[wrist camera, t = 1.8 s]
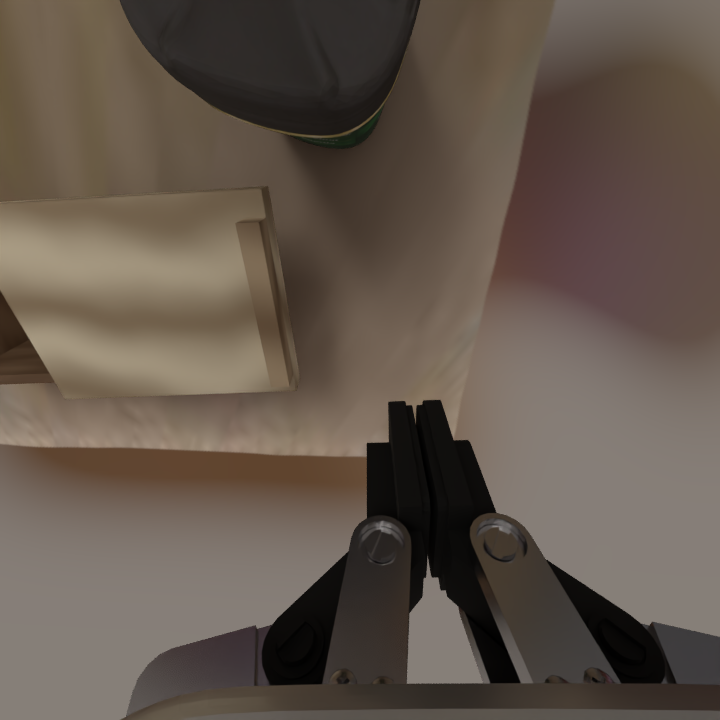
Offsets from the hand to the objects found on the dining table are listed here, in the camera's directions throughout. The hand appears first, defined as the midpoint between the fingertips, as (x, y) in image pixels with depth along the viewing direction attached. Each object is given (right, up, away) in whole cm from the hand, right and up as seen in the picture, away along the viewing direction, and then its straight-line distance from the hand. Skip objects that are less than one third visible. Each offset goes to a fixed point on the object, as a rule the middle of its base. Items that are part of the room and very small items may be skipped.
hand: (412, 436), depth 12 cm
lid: (-15, +6, +12) cm, 20 cm away
